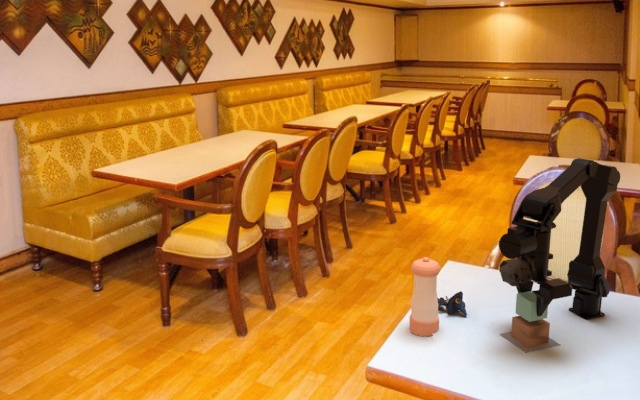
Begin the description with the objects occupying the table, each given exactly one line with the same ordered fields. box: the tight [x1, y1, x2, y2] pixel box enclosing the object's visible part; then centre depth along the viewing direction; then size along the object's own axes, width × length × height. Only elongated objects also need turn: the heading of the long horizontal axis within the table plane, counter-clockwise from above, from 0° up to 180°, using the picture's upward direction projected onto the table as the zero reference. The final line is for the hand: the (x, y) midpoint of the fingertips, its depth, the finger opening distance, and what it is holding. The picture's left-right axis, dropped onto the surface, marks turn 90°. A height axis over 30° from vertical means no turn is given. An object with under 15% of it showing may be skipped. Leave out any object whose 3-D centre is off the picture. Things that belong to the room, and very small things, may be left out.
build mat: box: [498, 331, 562, 354], centre depth 145 cm, size 10×10×1 cm
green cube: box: [515, 290, 549, 322], centre depth 143 cm, size 5×5×5 cm
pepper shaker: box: [408, 256, 441, 337], centre depth 149 cm, size 7×7×19 cm
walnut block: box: [510, 315, 551, 347], centre depth 144 cm, size 6×6×5 cm
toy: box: [437, 290, 468, 318], centre depth 162 cm, size 8×7×15 cm
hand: (531, 311), depth 143 cm, fingers closed on green cube, 5 cm apart
